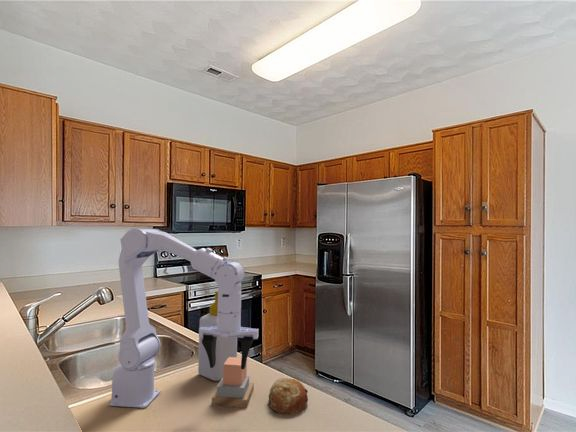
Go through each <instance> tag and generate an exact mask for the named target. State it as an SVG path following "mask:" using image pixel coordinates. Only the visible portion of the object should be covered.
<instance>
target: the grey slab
mask: <svg viewBox="0 0 576 432" xmlns="http://www.w3.org/2000/svg"><path fill="white" fill-rule="evenodd" d="M249 383H250V375H246V379H245V380H244V382H243V384H242V385H229V384H223V377H222V379H221V380H219V382H218V384H217V386H216V390H217V396H216V397H231V398H244V396H245V394H246V391H247V389H248V387H249Z"/></svg>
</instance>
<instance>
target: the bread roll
mask: <svg viewBox="0 0 576 432" xmlns="http://www.w3.org/2000/svg"><path fill="white" fill-rule="evenodd" d="M308 393H309V390H308V389H307V388H305V386H304V385H303V384H302V383H301V382H300V381H299V380H296V379H294V378H288V377H282V378H278V379H277V380H275V382H273V384H272V386H271V387H270V389H269V394H268V400H267V405H269V407H270V408H271V409H273V410H274V411H275V412H277V413H279V414H283V415H284V414H285V415H288V414H294V413H297V412H299V411H302V410H303V409H305V407H306V406H307V404H308V402H309V401H308V400H309V399H308Z"/></svg>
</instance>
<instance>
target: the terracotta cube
mask: <svg viewBox="0 0 576 432" xmlns="http://www.w3.org/2000/svg"><path fill="white" fill-rule="evenodd" d="M241 360H242V357H238V356H237V357H229V358H228V359H227V360H226V361H225V363H224V364H223V384H229V385H242V384H243V382H244V380H245V379H246V376H247V375H248V374H247V369H248V367H247V366H248V365H247V361H248V359H247V360H246V367H245V369H241Z"/></svg>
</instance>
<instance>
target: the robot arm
mask: <svg viewBox="0 0 576 432" xmlns="http://www.w3.org/2000/svg"><path fill="white" fill-rule="evenodd" d="M120 246H121V249H120V253H119V257H118V268H119V278H120V287H121V295H122V302H123V303H122V304H123V313H124V321H125V327H126V329H125V330H124V333H123V334H122V335H121V337H120V339H119V349H118V351H117V352H118V353H117V354H118V355H117V360H118V362H119V364H118V365H117V366H116V368H115V369H114V371H113V375H112V378H111V379H112V380H111V381H112V382H111V401H110V403H109V407H123V408H124V407H125V408H142V409H143V408H144V409H145V408H147V407H148V406H149V404H151V403H152V402H153V400H155V399H156V397H158V396H159V395H160V394H161V391H160V390H156V389H155V363H156V362H155V361H156V357H157V355H158V354H159V353H160V350H161V345H162V344H161V340H160V338H159V337H158V335H157V330H156V327H154V326H153V325H151V324H150V318H149V312H148V311H149V310H148V303H147V302H148V301H147V296H146V295H147V294H146V288H145V287H146V285H145V278H144V270H143V264H144V263H145V262H147V260H148V259H149V257H151V256H153V255H155V254H156V253H158V252H159V251H160V250H164V251H166V252H168V253H171V254H173V255H175V256H177V257H180V258H181V259H184V260H187V261H189V262H190V267H192V269H194V270H195V271H197V272H199V273H202V274H203V275H206V276H207V277H209V278H211V279H213V280H214V281H215V283H216V284H217V288H218V289H217V291H218V315H217V326H214V327H201V328H200V329H199V328H198V338H199V337H203V340H202V345H203V346H204V348H205V350H206V352H207V355H208V359H209V363H210V368H213V367H214V366H215V363H216V341H217V337H237V339H238V338H239V339H240V338H241V339H242V340H241V341H240V346H241V348H240V349H241V358H242V360H241V369H245V367H246V360H247V361H248V356H249V353H250V349H251V347H252V345H253V343H254V342H253V341H255V340H258V339H259V330H260V329H259V328H252V327H244V326H241V322H242V320H241V319H242V317H241V316H242V315H241V314H242V281H243V279H244V278H245V268H244V266H243V265H242V264H241V263H239V262H238V261H237V260H231V261H229V260H230V259H229V257H227V256H224V257H223V256H221V255H219V254H217V253H215V252H213V248H210V247H207V248H204V247H202V248H199V249H196V248H194V247H193V246H191V245H189V244H187V243H185V242H184V241H181V240H180V239H178V238H176V237H174V236H173V235H171V234H169V233H168V232H166V231H162V230H160V229H158V228H147V229H146V228H131V229H129V230H128V231H126V233H124V235H123V236H122V237H121V238H120Z"/></svg>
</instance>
